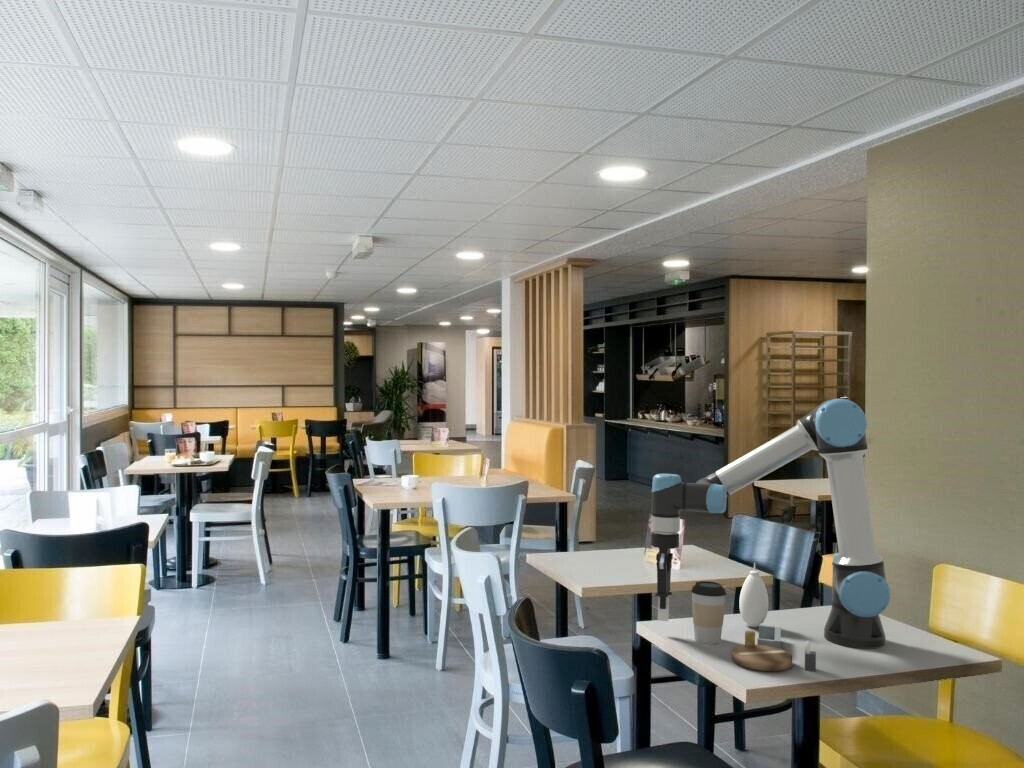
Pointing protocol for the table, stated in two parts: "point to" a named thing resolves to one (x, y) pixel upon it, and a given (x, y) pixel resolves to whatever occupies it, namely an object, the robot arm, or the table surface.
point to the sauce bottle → (753, 600)
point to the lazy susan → (760, 655)
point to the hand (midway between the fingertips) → (663, 620)
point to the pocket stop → (769, 636)
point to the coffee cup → (708, 611)
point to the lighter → (810, 658)
